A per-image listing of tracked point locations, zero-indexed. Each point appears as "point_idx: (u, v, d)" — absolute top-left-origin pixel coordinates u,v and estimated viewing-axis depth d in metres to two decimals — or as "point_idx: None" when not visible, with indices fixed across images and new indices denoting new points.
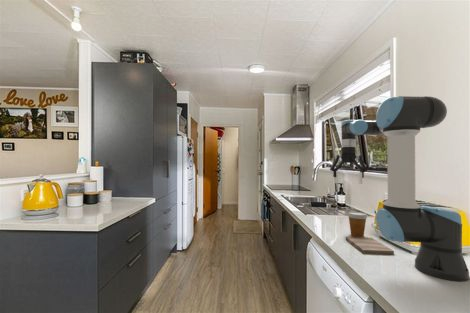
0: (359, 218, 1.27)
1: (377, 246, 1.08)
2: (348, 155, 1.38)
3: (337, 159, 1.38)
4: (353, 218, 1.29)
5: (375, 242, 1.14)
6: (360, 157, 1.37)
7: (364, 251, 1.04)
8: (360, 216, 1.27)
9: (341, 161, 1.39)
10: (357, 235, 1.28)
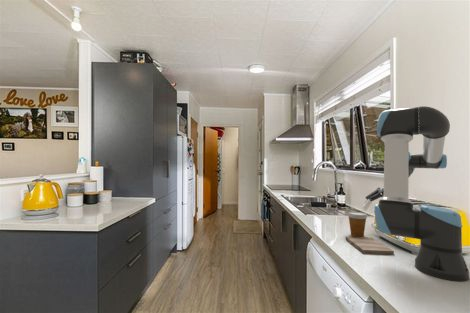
0: (359, 218, 1.27)
1: (377, 246, 1.08)
2: None
3: (375, 190, 1.41)
4: (353, 218, 1.29)
5: (375, 242, 1.14)
6: None
7: (364, 251, 1.04)
8: (360, 216, 1.27)
9: None
10: (357, 235, 1.28)
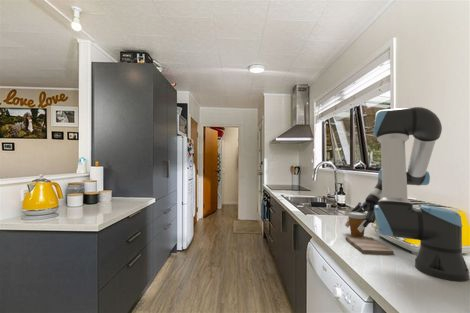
0: (359, 218, 1.27)
1: (377, 246, 1.08)
2: (368, 203, 1.34)
3: (357, 205, 1.39)
4: (353, 218, 1.29)
5: (375, 242, 1.14)
6: None
7: (364, 251, 1.04)
8: (360, 216, 1.27)
9: (361, 209, 1.36)
10: (357, 235, 1.28)
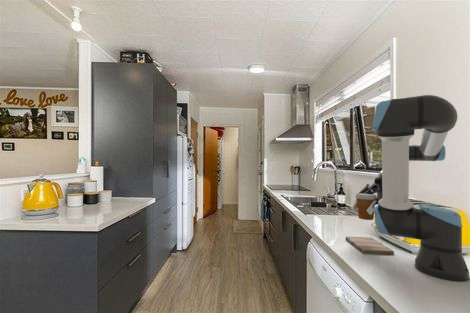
0: (368, 199, 1.14)
1: (377, 246, 1.08)
2: (378, 184, 1.21)
3: (365, 187, 1.26)
4: (362, 199, 1.15)
5: (375, 242, 1.14)
6: None
7: (364, 251, 1.04)
8: (370, 196, 1.14)
9: (370, 191, 1.23)
10: (366, 218, 1.15)
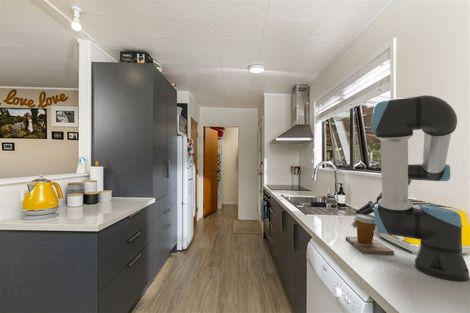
0: (369, 223, 1.11)
1: (377, 246, 1.08)
2: None
3: (367, 204, 1.22)
4: (362, 222, 1.13)
5: (375, 242, 1.14)
6: None
7: (364, 251, 1.04)
8: (370, 220, 1.11)
9: None
10: (365, 241, 1.13)
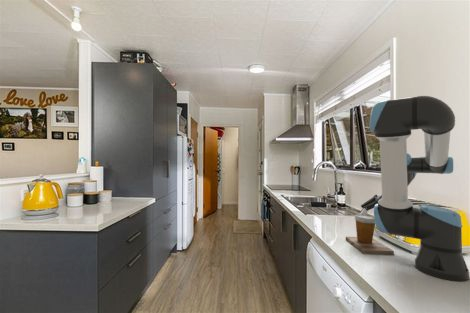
0: (368, 223, 1.12)
1: (377, 246, 1.08)
2: None
3: (372, 198, 1.24)
4: (361, 222, 1.13)
5: (375, 242, 1.14)
6: None
7: (364, 251, 1.04)
8: (369, 220, 1.12)
9: (377, 202, 1.21)
10: (364, 241, 1.13)
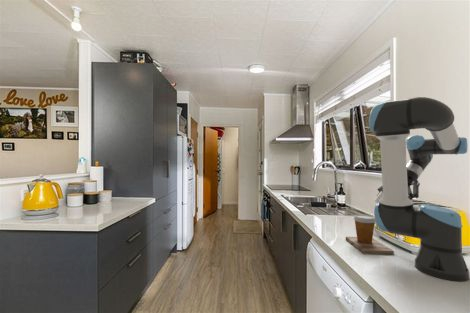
0: (367, 223, 1.12)
1: (377, 246, 1.08)
2: None
3: None
4: (360, 222, 1.14)
5: (375, 242, 1.14)
6: (415, 181, 1.14)
7: (364, 251, 1.04)
8: (368, 220, 1.12)
9: None
10: (364, 241, 1.13)
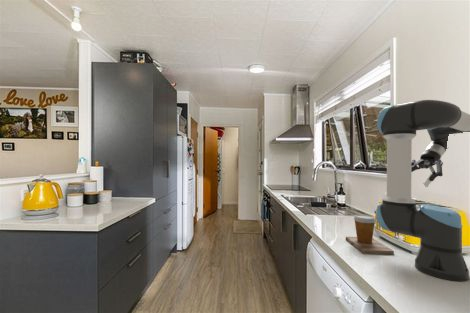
0: (367, 223, 1.12)
1: (377, 246, 1.08)
2: (425, 159, 1.23)
3: (410, 162, 1.28)
4: (360, 222, 1.14)
5: (375, 242, 1.14)
6: (438, 161, 1.16)
7: (364, 251, 1.04)
8: (368, 220, 1.12)
9: None
10: (364, 241, 1.13)
